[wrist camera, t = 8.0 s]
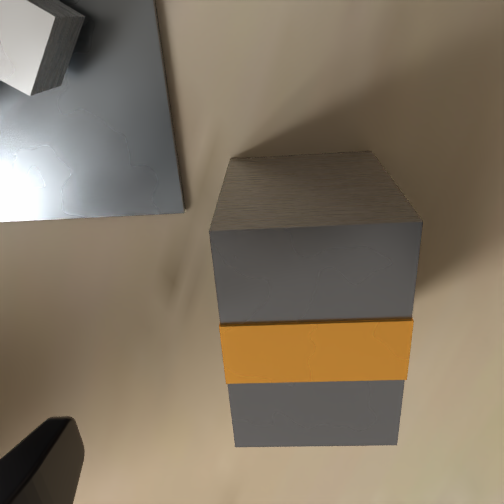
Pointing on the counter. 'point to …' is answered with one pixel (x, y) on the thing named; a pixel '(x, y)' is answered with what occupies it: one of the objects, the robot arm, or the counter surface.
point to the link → (314, 298)
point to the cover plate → (94, 126)
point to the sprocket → (36, 43)
